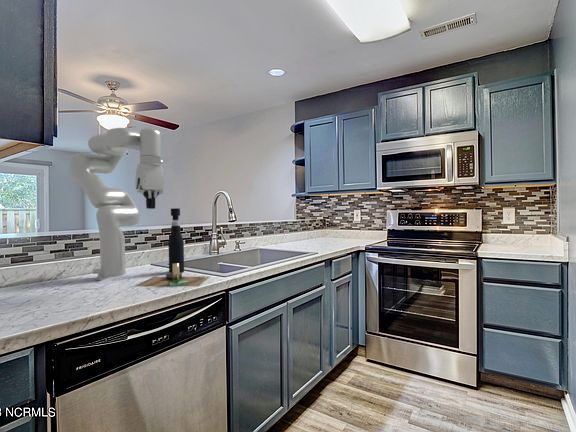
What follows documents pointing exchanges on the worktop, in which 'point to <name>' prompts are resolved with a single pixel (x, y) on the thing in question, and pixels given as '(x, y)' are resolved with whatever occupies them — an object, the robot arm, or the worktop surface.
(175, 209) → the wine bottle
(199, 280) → the board
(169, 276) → the tuning dial
